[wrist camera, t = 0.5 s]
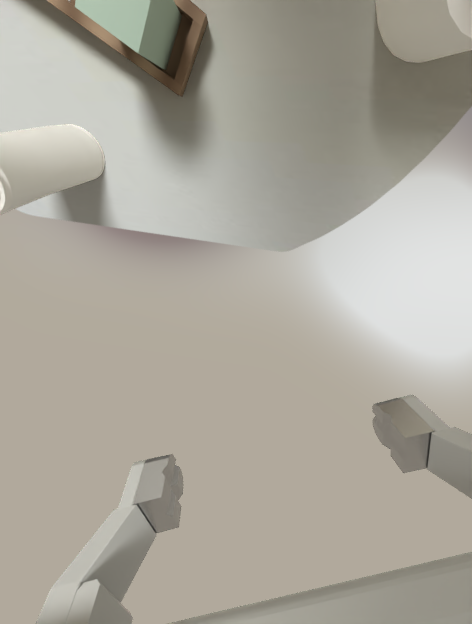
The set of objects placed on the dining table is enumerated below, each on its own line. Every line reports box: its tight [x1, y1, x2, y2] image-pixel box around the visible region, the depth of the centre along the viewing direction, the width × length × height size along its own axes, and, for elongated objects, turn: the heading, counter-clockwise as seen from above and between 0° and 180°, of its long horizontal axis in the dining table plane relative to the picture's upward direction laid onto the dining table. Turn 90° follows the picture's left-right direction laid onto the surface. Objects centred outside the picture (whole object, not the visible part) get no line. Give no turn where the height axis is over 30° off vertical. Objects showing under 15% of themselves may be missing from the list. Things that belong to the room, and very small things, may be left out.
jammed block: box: [75, 0, 182, 70], centre depth 28 cm, size 6×6×14 cm
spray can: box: [0, 124, 105, 215], centre depth 34 cm, size 12×11×25 cm
